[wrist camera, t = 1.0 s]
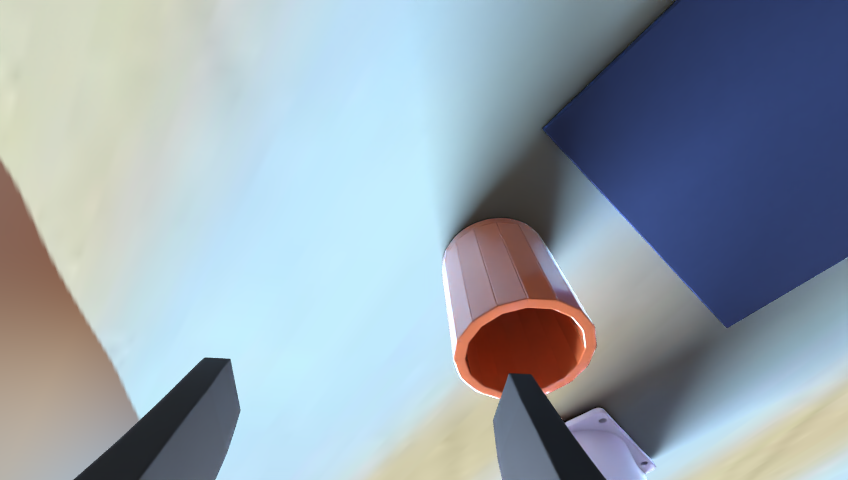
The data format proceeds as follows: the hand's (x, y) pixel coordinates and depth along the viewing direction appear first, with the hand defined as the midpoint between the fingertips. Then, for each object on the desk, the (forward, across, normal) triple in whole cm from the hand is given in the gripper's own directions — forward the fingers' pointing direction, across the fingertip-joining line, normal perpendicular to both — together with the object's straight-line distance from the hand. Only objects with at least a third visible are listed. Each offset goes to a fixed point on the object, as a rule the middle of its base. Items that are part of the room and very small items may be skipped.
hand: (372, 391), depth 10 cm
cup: (+9, -6, +2) cm, 11 cm away
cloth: (+9, -17, -6) cm, 21 cm away
